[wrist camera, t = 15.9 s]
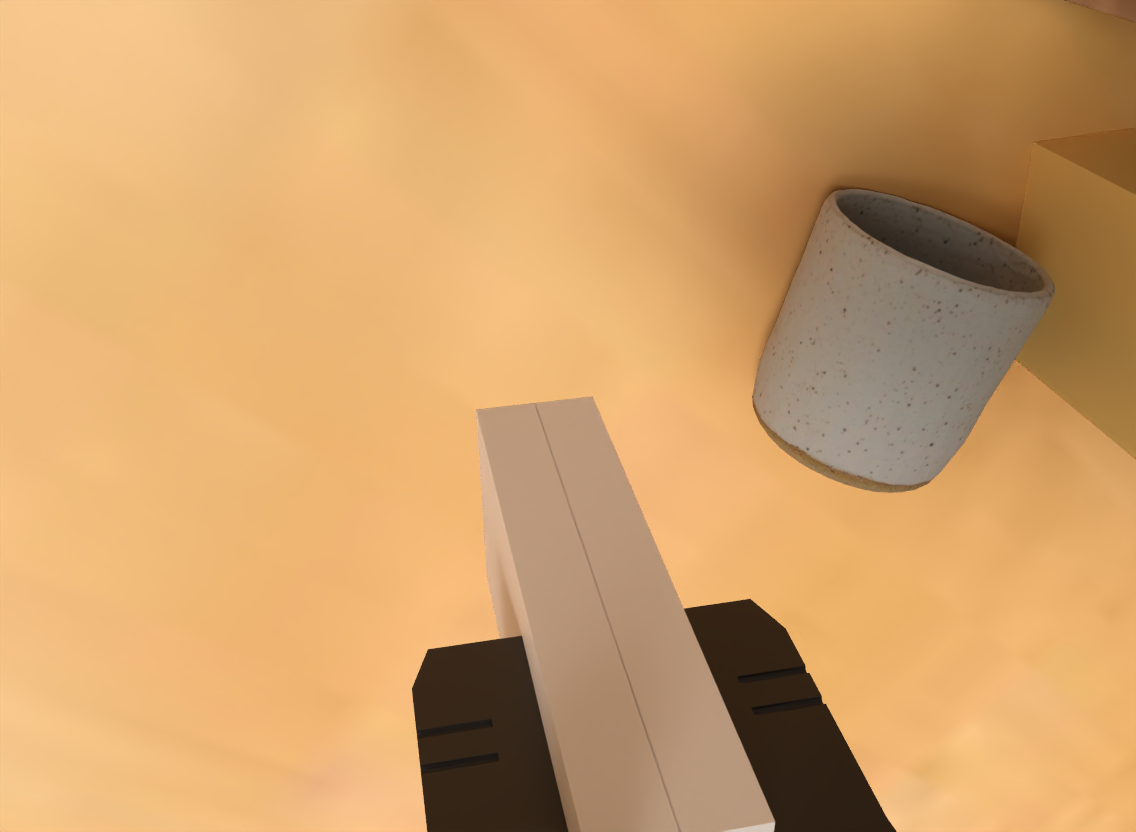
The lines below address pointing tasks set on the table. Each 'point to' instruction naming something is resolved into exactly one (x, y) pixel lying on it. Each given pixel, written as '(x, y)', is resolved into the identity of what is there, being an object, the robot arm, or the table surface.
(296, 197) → the table surface
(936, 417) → the ceramic mug
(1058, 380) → the ochre book
